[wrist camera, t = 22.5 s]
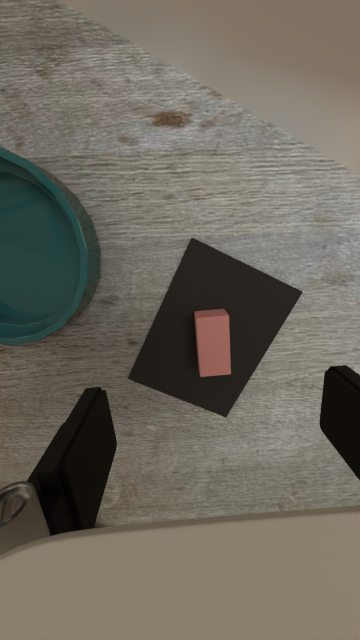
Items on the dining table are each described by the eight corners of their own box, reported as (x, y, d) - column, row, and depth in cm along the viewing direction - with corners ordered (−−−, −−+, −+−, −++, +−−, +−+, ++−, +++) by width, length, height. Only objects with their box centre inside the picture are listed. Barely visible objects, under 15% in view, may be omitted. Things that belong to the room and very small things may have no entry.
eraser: (194, 311, 24) (195, 318, 22) (224, 308, 24) (229, 315, 22) (198, 365, 26) (200, 377, 24) (226, 362, 26) (231, 374, 24)
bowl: (-48, 125, 20) (-102, 97, 16) (125, 210, 22) (115, 203, 18) (-76, 292, 24) (-124, 301, 20) (73, 351, 26) (56, 370, 22)
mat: (192, 237, 23) (192, 237, 22) (300, 291, 24) (302, 292, 24) (129, 377, 27) (128, 378, 27) (225, 415, 28) (226, 417, 28)
